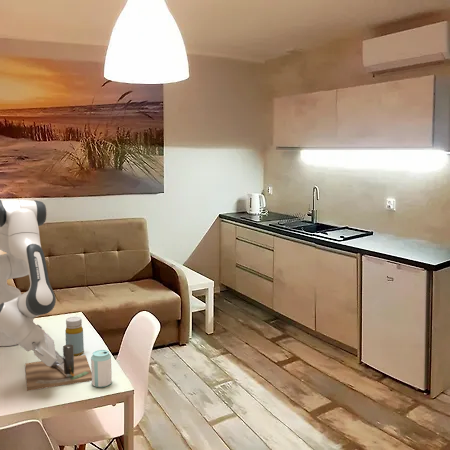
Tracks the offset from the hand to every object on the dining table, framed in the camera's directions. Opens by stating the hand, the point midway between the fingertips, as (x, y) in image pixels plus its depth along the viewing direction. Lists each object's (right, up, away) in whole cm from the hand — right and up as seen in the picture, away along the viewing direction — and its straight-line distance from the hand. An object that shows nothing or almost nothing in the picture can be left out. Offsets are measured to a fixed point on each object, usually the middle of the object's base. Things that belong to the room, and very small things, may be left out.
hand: (61, 361), depth 190 cm
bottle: (-3, -4, +27) cm, 27 cm away
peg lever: (-1, -5, +6) cm, 8 cm away
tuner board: (-4, -7, +8) cm, 11 cm away
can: (+15, -8, 0) cm, 17 cm away
